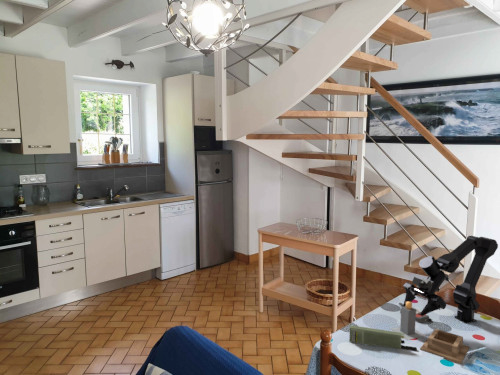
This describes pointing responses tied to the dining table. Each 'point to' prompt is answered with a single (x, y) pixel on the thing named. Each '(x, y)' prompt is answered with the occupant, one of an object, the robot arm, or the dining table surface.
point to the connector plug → (408, 319)
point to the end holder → (446, 346)
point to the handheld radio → (378, 337)
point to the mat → (408, 337)
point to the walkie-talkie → (418, 316)
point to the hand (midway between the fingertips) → (412, 310)
